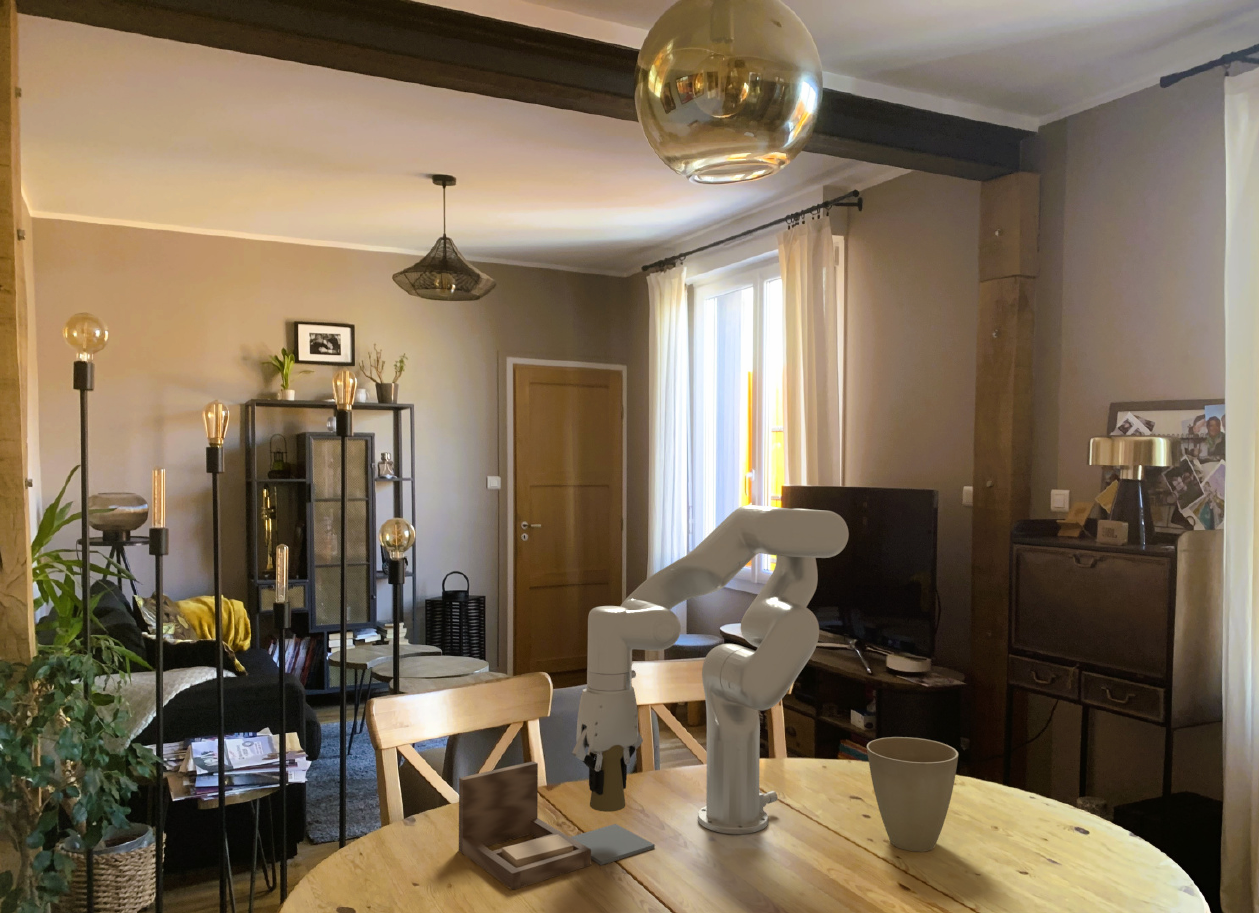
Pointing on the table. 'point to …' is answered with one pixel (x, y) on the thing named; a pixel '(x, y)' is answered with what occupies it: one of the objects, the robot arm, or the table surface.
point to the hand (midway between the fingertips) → (607, 788)
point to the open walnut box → (509, 825)
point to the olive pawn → (610, 782)
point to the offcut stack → (536, 850)
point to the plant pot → (912, 788)
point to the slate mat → (612, 843)
